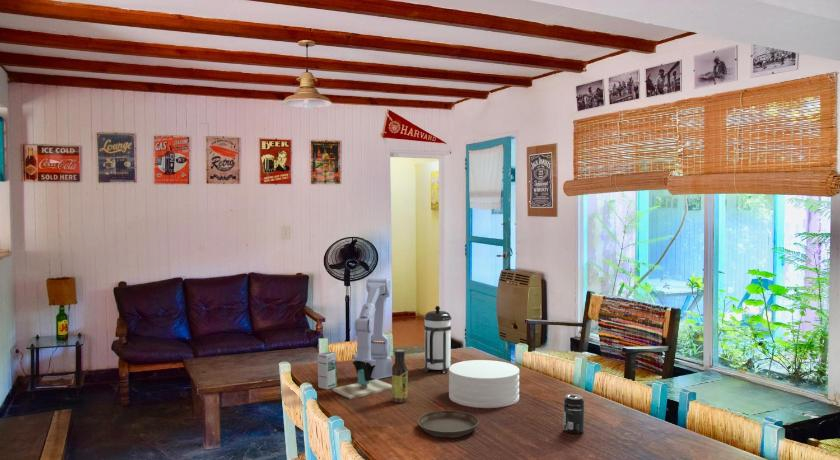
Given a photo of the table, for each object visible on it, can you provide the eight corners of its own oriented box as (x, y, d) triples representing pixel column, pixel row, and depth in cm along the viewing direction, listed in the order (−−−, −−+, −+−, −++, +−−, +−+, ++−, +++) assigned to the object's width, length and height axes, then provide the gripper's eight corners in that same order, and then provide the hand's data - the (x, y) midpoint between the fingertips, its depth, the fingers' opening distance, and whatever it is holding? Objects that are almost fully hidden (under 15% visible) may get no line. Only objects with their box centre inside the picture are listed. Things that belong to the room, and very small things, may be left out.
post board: (376, 381, 271) (376, 370, 271) (395, 388, 260) (395, 376, 260) (332, 390, 257) (332, 378, 257) (350, 398, 246) (350, 386, 246)
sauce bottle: (405, 403, 240) (405, 352, 239) (389, 402, 241) (389, 352, 241) (409, 398, 246) (409, 349, 246) (394, 397, 248) (393, 348, 247)
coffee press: (414, 368, 293) (414, 304, 292) (444, 364, 299) (444, 302, 298) (430, 377, 277) (430, 310, 276) (461, 373, 284) (462, 307, 283)
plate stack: (437, 401, 243) (437, 372, 243) (465, 383, 268) (465, 357, 268) (505, 412, 230) (505, 382, 230) (528, 392, 255) (528, 364, 255)
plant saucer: (428, 443, 200) (428, 433, 200) (411, 422, 220) (411, 413, 220) (487, 437, 206) (487, 427, 206) (465, 416, 226) (465, 407, 226)
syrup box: (327, 389, 259) (327, 355, 258) (317, 387, 262) (317, 353, 262) (337, 386, 263) (337, 352, 263) (327, 384, 267) (327, 350, 266)
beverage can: (568, 426, 216) (569, 391, 215) (587, 430, 211) (587, 395, 211) (559, 431, 210) (560, 396, 210) (578, 436, 206) (579, 400, 206)
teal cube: (365, 380, 262) (365, 368, 262) (371, 383, 258) (371, 371, 258) (355, 382, 259) (355, 370, 259) (362, 385, 255) (362, 373, 255)
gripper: (346, 345, 261) (346, 377, 262) (365, 351, 250) (365, 384, 250) (360, 342, 265) (360, 374, 266) (379, 348, 254) (380, 381, 255)
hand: (364, 379), depth 258 cm, fingers closed on teal cube, 5 cm apart
